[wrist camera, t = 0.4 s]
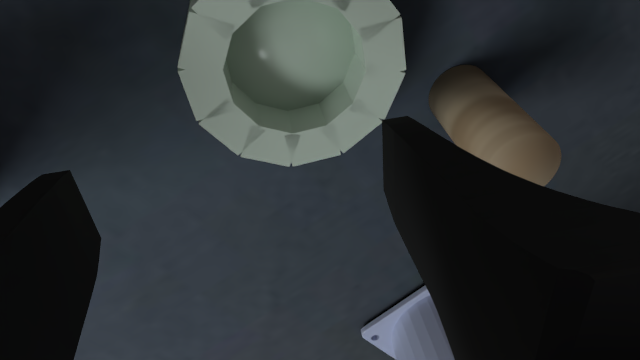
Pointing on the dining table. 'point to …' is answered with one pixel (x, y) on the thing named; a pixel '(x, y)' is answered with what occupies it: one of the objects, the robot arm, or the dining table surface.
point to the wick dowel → (492, 125)
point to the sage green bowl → (291, 73)
